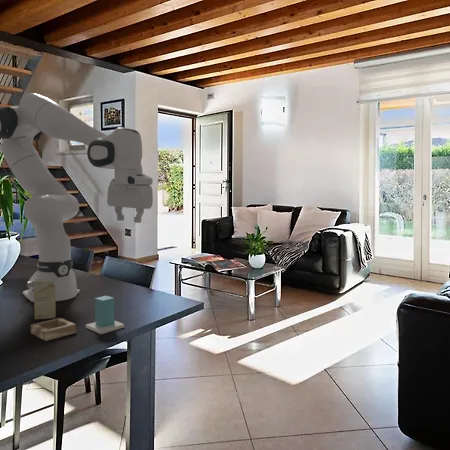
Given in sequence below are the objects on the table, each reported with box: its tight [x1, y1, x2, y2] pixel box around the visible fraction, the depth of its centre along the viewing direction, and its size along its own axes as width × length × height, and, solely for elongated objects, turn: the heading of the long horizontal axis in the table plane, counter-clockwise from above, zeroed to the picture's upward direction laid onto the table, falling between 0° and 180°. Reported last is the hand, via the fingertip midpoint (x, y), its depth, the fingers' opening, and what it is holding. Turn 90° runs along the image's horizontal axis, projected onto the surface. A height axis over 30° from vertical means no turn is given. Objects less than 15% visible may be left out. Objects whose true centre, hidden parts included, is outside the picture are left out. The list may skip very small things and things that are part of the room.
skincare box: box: [33, 278, 57, 320], centre depth 139 cm, size 6×4×12 cm
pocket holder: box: [30, 317, 77, 342], centre depth 124 cm, size 9×9×2 cm
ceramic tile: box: [85, 320, 125, 335], centre depth 129 cm, size 8×8×1 cm
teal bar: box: [94, 295, 116, 327], centre depth 129 cm, size 4×4×8 cm
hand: (128, 221), depth 141 cm, fingers open, 8 cm apart
